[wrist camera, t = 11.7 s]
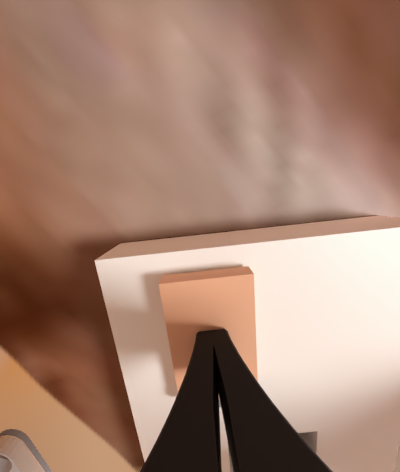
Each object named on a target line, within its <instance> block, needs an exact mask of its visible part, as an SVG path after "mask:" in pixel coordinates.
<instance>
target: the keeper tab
mask: <svg viewBox="0 0 400 472" xmlns="http://www.w3.org/2000/svg"><path fill="white" fill-rule="evenodd" d="M159 289H160V295H161V301H162V306H163V312H164V318H165V323H166V329H167V334H168V340H169V346H170V351H171V357H172V363H173V368H174V374H175V380H176V385H177V391H178V392H179V389H180V387H181V384H182V382H183V379H184V376H185V373H186V370H187V368H188V365H189V362H190V359H191V355H192V352H193V348H194V344H195V340H196V334H197V333H198V332H199V331H208V330H218V329H226V330H227V331H228V333H229V336H230V338H231V340H232V342H233V344H234V345H235V347H236V349H237V351H238V352H239V354H240V356H241V357H242V359H243V361H244V362H245V364H246V365H247V367H248V368H249V370H250V371H251V373H252V374H253V376H254V377H255V379H256V380H257V382H258V374H257V346H256V319H255V291H254V273H253V272H252V270H251V269H250V268H249V266H245V267H236V268H226V269H217V270H208V271H199V272H190V273H180V274H171V275H162V277H161V279H160V282H159ZM220 407H221V403H220V398H219V408H220Z"/></svg>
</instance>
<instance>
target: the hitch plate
mask: <svg viewBox="0 0 400 472" xmlns="http://www.w3.org/2000/svg"><path fill="white" fill-rule="evenodd" d="M94 261H95V265H96V269H97V273H98V277H99V281H100V285H101V289H102V293H103V297H104V301H105V305H106V309H107V313H108V317H109V321H110V325H111V329H112V333H113V337H114V341H115V346H116V350H117V354H118V358H119V362H120V366H121V370H122V374H123V378H124V382H125V386H126V390H127V394H128V398H129V402H130V406H131V410H132V414H133V418H134V422H135V426H136V430H137V434H138V438H139V442H140V446H141V450H142V454H143V458H144V462H146V460H147V458H148V456H149V454H150V452H151V450H152V448H153V446H154V444H155V442H156V440H157V438H158V436H159V434H160V432H161V430H162V428H163V426H164V424H165V422H166V419H167V417H168V415H169V413H170V411H171V408H172V406H173V404H174V401H175V399H176V397H177V394H178V391H177V385H176V380H175V374H174V368H173V363H172V357H171V351H170V346H169V340H168V334H167V329H166V323H165V318H164V312H163V306H162V301H161V295H160V289H159V282H160V279H161V277H162V275H171V274H180V273H190V272H199V271H208V270H217V269H226V268H236V267H245V266H249V268H250V269H251V270H252V272H253V273H254V291H255V319H256V346H257V374H258V383H259V384H260V386H261V387H262V389H263V390H264V391H265V393H266V394H267V395H268V397H269V398H270V399H271V401H272V402H273V403H274V405H275V406H276V407H277V408H278V410H279V411H280V412H281V413H282V415H283V416H284V417H285V418H286V419H287V421H288V422H289V423H290V424H291V426H292V427H293V428H294V429H295V430H296V431H297V433H298V434H299V435H300V436H301V437H302V438H303V440H304V441H305V442H306V443H307V444H308V445H309V447H310V448H311V449H312V450H313V451H314V452H315V453H316V454H317V455H318V456H319V457H320V459H321V460H322V461H323V462H324V463H325V464H326V465H327V466H328V467H329V468H330V469H331V470H332V472H394V470H395V465H396V459H397V454H398V449H399V444H400V218H396V217H387V216H369V217H359V218H350V219H341V220H332V221H322V222H313V223H304V224H295V225H285V226H276V227H267V228H258V229H249V230H239V231H230V232H221V233H212V234H202V235H193V236H184V237H175V238H165V239H156V240H147V241H138V242H129V243H120V244H119V245H117V246H116V247H114V248H113V249H111V250H110V251H108V252H107V253H105V254H103V255H102V256H100V257H99V258H97V259H96V260H94ZM219 416H220V441H221V467H222V472H233V466H232V461H231V456H230V451H229V445H228V440H227V435H226V430H225V424H224V419H223V414H222V409H221V407H220V408H219Z"/></svg>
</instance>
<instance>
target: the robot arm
mask: <svg viewBox="0 0 400 472" xmlns="http://www.w3.org/2000/svg"><path fill="white" fill-rule="evenodd" d="M219 398H220V403H221V409H222V414H223V419H224V424H225V430H226V435H227V440H228V445H229V451H230V456H231V461H232V466H233V472H332V470H331V469H330V468H329V467H328V466H327V465H326V464H325V463H324V462H323V461H322V460H321V459H320V457H319V456H318V455H317V454H316V453H315V452H314V451H313V450H312V449H311V448H310V447H309V445H308V444H307V443H306V442H305V441H304V440H303V438H302V437H301V436H300V435H299V434H298V433H297V431H296V430H295V429H294V428H293V427H292V426H291V424H290V423H289V422H288V421H287V419H286V418H285V417H284V416H283V415H282V413H281V412H280V411H279V410H278V408H277V407H276V406H275V405H274V403H273V402H272V401H271V399H270V398H269V397H268V395H267V394H266V393H265V391H264V390H263V389H262V387H261V386H260V384H259V383H258V382H257V380H256V379H255V377H254V376H253V374H252V373H251V371H250V370H249V368H248V367H247V365H246V364H245V362H244V361H243V359H242V357H241V356H240V354H239V352H238V351H237V349H236V347H235V345H234V344H233V342H232V340H231V338H230V336H229V333H228V331H227V330H226V329H218V330H208V331H199V332H198V333H197V334H196V340H195V344H194V348H193V352H192V355H191V359H190V362H189V365H188V368H187V370H186V373H185V376H184V379H183V382H182V384H181V387H180V389H179V392H178V394H177V397H176V399H175V401H174V404H173V406H172V408H171V411H170V413H169V415H168V417H167V419H166V422H165V424H164V426H163V428H162V430H161V432H160V434H159V436H158V438H157V440H156V442H155V444H154V446H153V448H152V450H151V452H150V454H149V456H148V458H147V460H146V462H145V463H144V465H143V467H142V469H141V471H140V472H222V467H221V441H220V416H219Z"/></svg>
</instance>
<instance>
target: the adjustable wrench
mask: <svg viewBox="0 0 400 472" xmlns="http://www.w3.org/2000/svg"><path fill="white" fill-rule="evenodd" d="M0 472H52V470H51V469H50V467H49V466H48V464H47V463H46V462H45V460H44V459H43V457H42V456H41V454H40V453H39V451H38V450H37V449H36V447H35V446H34V444H33V442H32V441H31V440H30V438H29V437H28V436H27V435H26V434H25V433H24V432H22V431H20V430H17V429H7V430H4V431H2V432H1V433H0Z"/></svg>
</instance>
